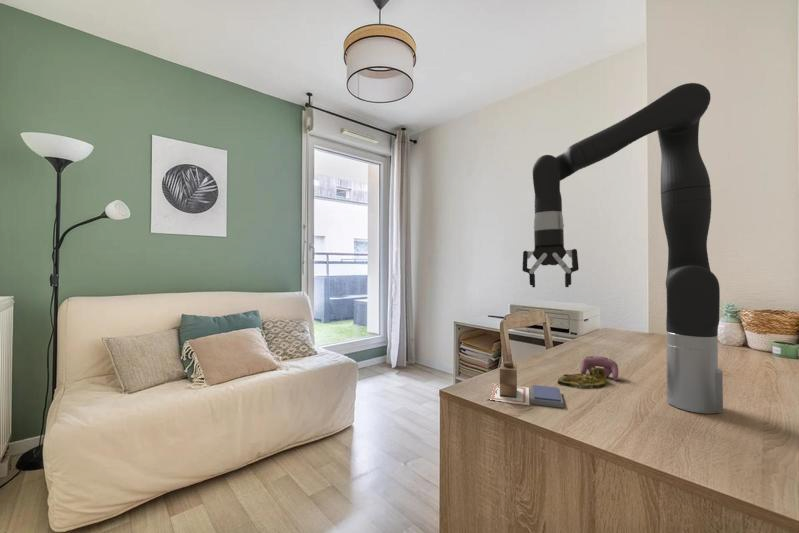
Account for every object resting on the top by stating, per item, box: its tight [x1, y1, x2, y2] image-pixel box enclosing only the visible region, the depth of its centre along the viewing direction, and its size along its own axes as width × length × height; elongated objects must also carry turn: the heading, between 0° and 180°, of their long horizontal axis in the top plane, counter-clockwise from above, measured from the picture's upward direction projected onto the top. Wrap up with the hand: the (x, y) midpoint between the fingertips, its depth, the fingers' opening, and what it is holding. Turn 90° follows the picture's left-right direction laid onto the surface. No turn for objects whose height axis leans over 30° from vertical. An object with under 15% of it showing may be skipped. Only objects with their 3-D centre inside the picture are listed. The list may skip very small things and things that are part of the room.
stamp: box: [499, 360, 518, 398], centre depth 89 cm, size 4×6×8 cm, turn 160°
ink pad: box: [530, 384, 565, 409], centre depth 86 cm, size 7×10×2 cm
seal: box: [557, 367, 608, 389], centre depth 97 cm, size 9×5×15 cm
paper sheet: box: [489, 383, 530, 406], centre depth 89 cm, size 10×12×1 cm
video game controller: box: [580, 355, 620, 382], centre depth 103 cm, size 10×5×7 cm, turn 56°
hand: (549, 287), depth 95 cm, fingers open, 8 cm apart
